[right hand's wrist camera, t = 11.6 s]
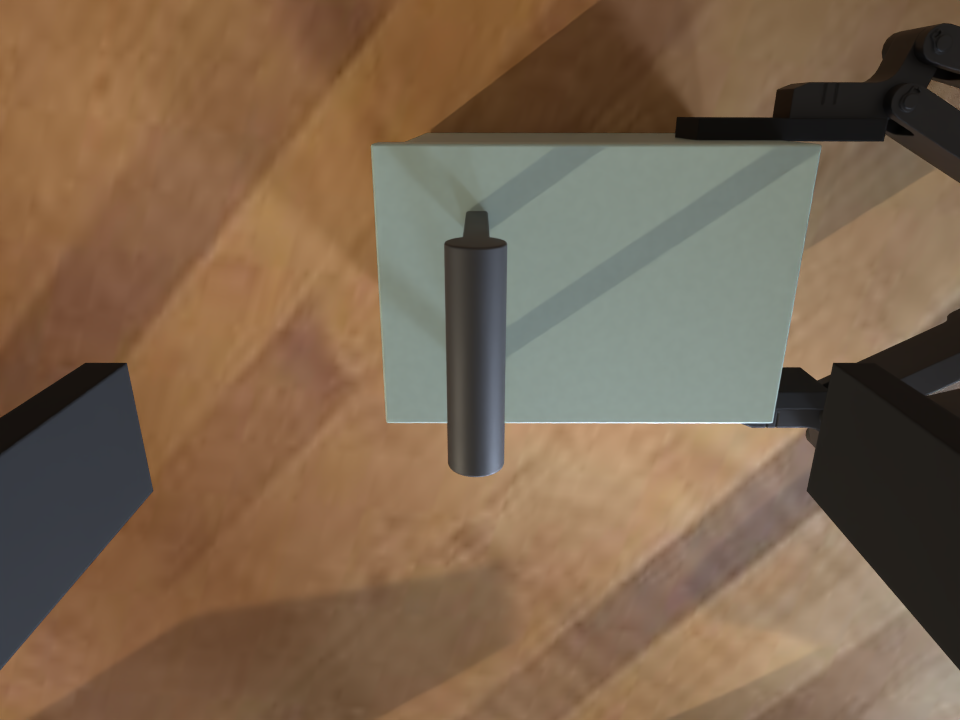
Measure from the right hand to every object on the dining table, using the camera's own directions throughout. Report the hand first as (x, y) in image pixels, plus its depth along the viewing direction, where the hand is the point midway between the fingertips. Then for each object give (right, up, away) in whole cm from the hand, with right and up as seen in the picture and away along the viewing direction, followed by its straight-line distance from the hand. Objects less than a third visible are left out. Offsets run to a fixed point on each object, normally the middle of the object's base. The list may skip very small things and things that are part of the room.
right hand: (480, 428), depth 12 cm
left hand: (+8, +5, +13) cm, 16 cm away
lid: (+4, +4, +11) cm, 12 cm away
